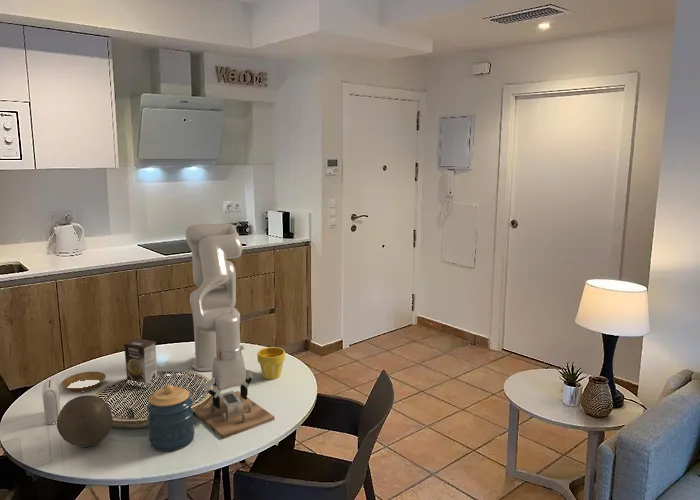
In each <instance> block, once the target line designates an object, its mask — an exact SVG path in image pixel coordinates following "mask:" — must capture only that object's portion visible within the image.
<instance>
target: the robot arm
mask: <svg viewBox="0 0 700 500" xmlns="http://www.w3.org/2000/svg"><path fill="white" fill-rule="evenodd" d="M184 233H185V239H186V243H187V244H188V246H189V248H190V251H191V254H192V255H191V258H192V279H193V284H194V285H195V286H196V287H198V288H197V289H195V290H193V291H192V292H191V293H190V295H189V304H190V309H191V314H192V320H193V333H194V334H193V335H194V336H193V337H194V355H195V360H194V361H193V362H192V363H191V367H192V369H193V370H195V371H199V372H211V379H209V380H208V381H207V382H205V384H204V385H203V388H204V390H205V391H206V392H207V393H208V395H211V396H212V399H213V405H214V406H215V407H216V408H217V409H219V408H220V397H219V396H218V395H219V394H221V392H222V391H224V390H227V389H231V388H234V387H237V386H239V389H240V391H239V392H240V393H241V397H242V398H243V399H245V400H246V399H247V398H248V395H249V394H248V388H249V387H250V383H252V380H253V377H254V375H255V372H254V371H253V370H250V369H246V365H245V360H244V355H243V353H242V351H243V350H245V347H244V345H241V335H240V334H241V332H240V329H241V328H240V323H241V314H240V312H239V310H238V309H237V308H236V303H237V275H236V274H237V273H236V267H235V265H234V263H233V262H232V261H229V260H228V259H237V258H240V257H241V256H242V253H243V245H242V240H241V238H240V235H239V233H238V231H237V229H236V227H235V226H234V225H233V224H232V223H230V222H229V223H228V222H226V223H223V222H220V223H203V224H202V223H201V224H193V225H192V224H191V225H189V226H187V227H186V229H185V232H184ZM212 386H213V388H211V387H212Z"/></svg>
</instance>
